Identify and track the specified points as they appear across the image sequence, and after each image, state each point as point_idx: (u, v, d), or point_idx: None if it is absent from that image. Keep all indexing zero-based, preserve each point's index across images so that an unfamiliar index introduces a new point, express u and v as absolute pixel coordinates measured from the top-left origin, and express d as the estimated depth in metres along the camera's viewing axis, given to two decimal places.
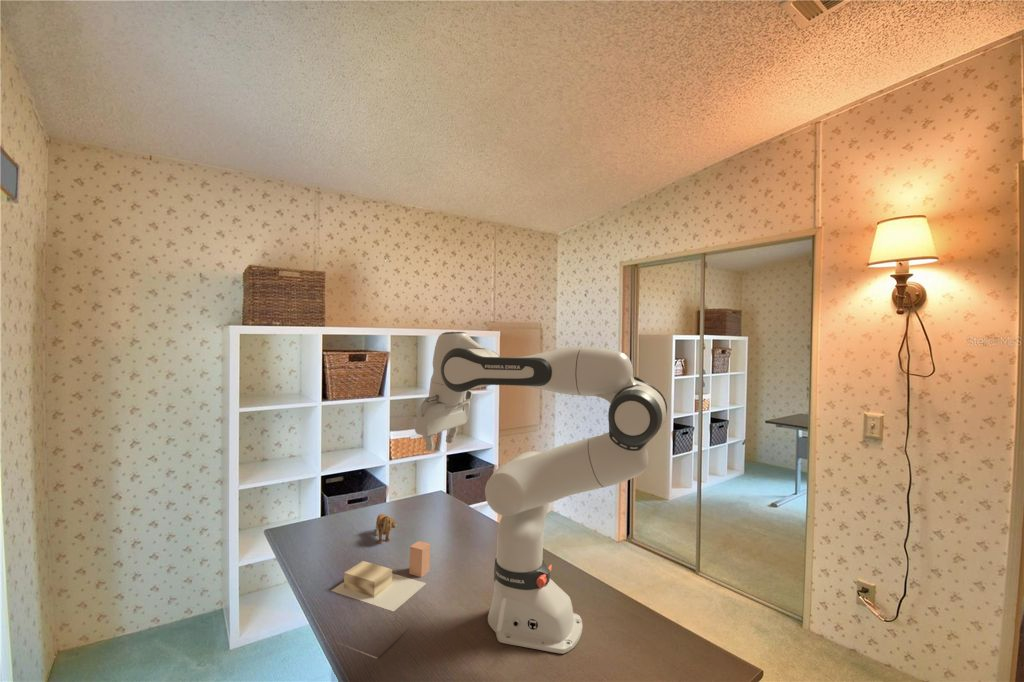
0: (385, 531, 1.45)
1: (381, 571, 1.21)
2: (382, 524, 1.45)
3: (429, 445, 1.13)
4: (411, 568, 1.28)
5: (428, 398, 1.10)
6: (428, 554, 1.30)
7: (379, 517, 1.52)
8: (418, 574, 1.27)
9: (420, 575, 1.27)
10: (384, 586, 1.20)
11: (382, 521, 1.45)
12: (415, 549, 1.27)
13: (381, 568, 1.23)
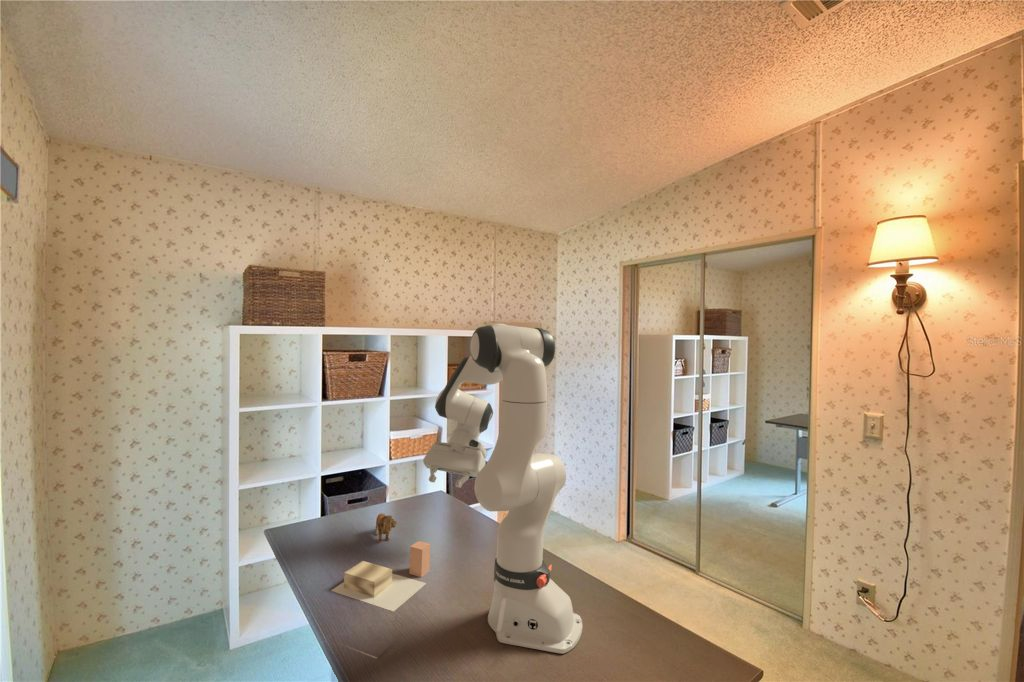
0: (385, 531, 1.45)
1: (381, 571, 1.21)
2: (382, 524, 1.45)
3: None
4: (411, 568, 1.28)
5: None
6: (428, 554, 1.30)
7: (379, 517, 1.52)
8: (418, 574, 1.27)
9: (420, 575, 1.27)
10: (384, 586, 1.20)
11: (382, 521, 1.46)
12: (415, 549, 1.27)
13: (381, 568, 1.23)
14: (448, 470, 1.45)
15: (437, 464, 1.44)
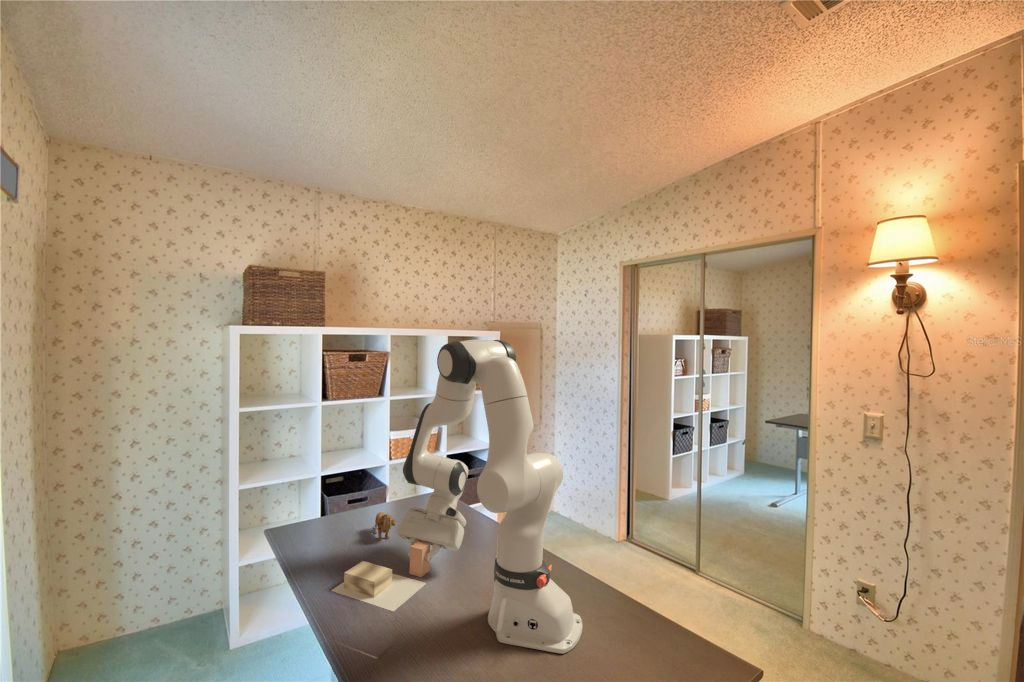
0: (385, 529, 1.46)
1: (381, 571, 1.21)
2: (382, 522, 1.46)
3: None
4: (411, 568, 1.28)
5: (414, 507, 1.40)
6: None
7: (378, 515, 1.53)
8: (418, 574, 1.27)
9: (420, 575, 1.27)
10: (384, 586, 1.20)
11: (382, 519, 1.47)
12: (415, 549, 1.27)
13: (381, 568, 1.23)
14: (424, 541, 1.33)
15: (411, 535, 1.32)
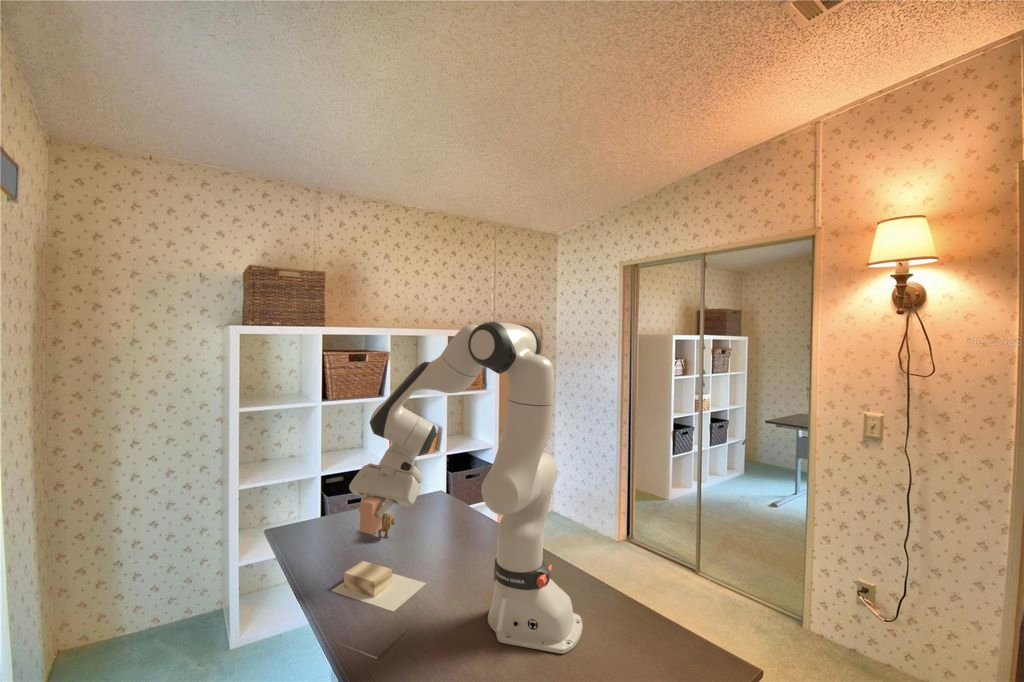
0: (385, 528, 1.47)
1: (381, 571, 1.21)
2: (382, 521, 1.47)
3: None
4: (361, 524, 1.20)
5: None
6: None
7: None
8: (368, 530, 1.19)
9: (370, 531, 1.19)
10: (384, 586, 1.20)
11: (382, 518, 1.48)
12: (365, 503, 1.20)
13: (381, 568, 1.23)
14: (377, 497, 1.25)
15: (364, 491, 1.25)
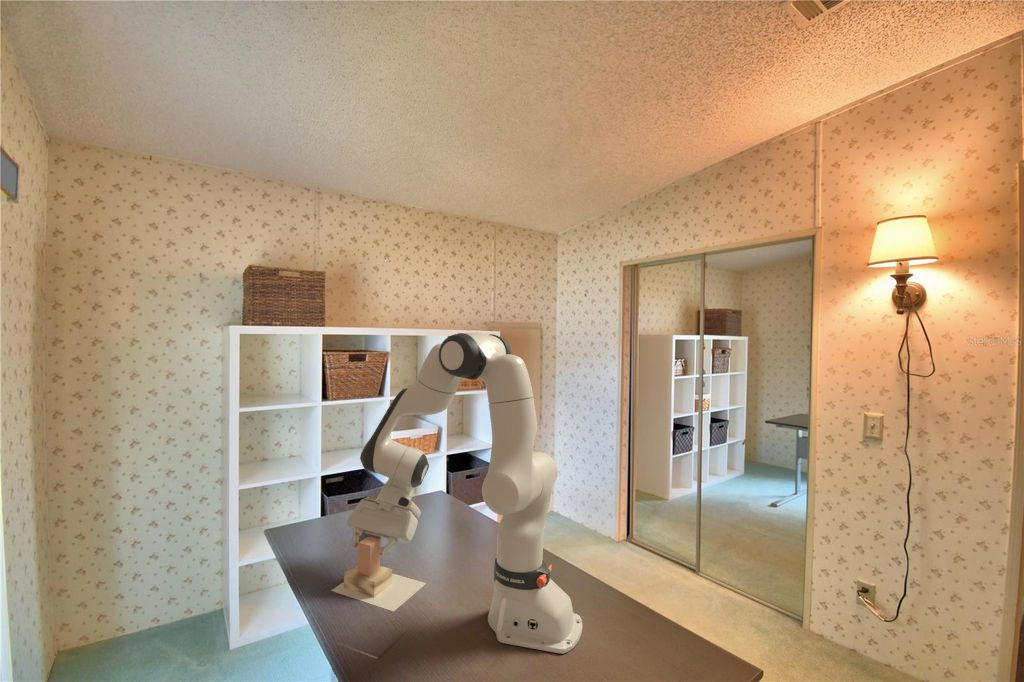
0: None
1: (381, 571, 1.21)
2: None
3: None
4: (359, 565, 1.20)
5: (367, 497, 1.33)
6: (378, 550, 1.22)
7: None
8: (366, 572, 1.19)
9: (368, 573, 1.19)
10: (384, 586, 1.20)
11: None
12: (363, 545, 1.20)
13: (381, 568, 1.23)
14: (375, 533, 1.25)
15: (361, 526, 1.24)
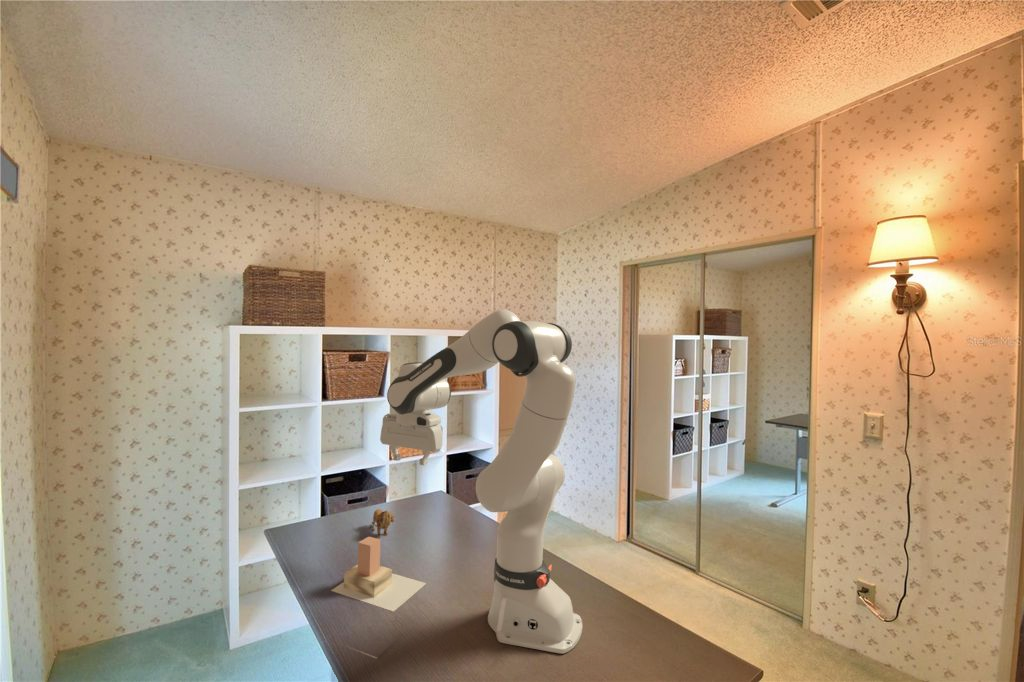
0: (384, 525, 1.49)
1: (381, 571, 1.21)
2: (381, 519, 1.49)
3: None
4: (359, 565, 1.20)
5: (387, 414, 1.40)
6: (378, 550, 1.22)
7: (376, 512, 1.55)
8: (366, 572, 1.19)
9: (368, 573, 1.19)
10: (384, 586, 1.20)
11: (381, 516, 1.49)
12: (363, 545, 1.20)
13: (381, 568, 1.23)
14: None
15: (395, 445, 1.37)
